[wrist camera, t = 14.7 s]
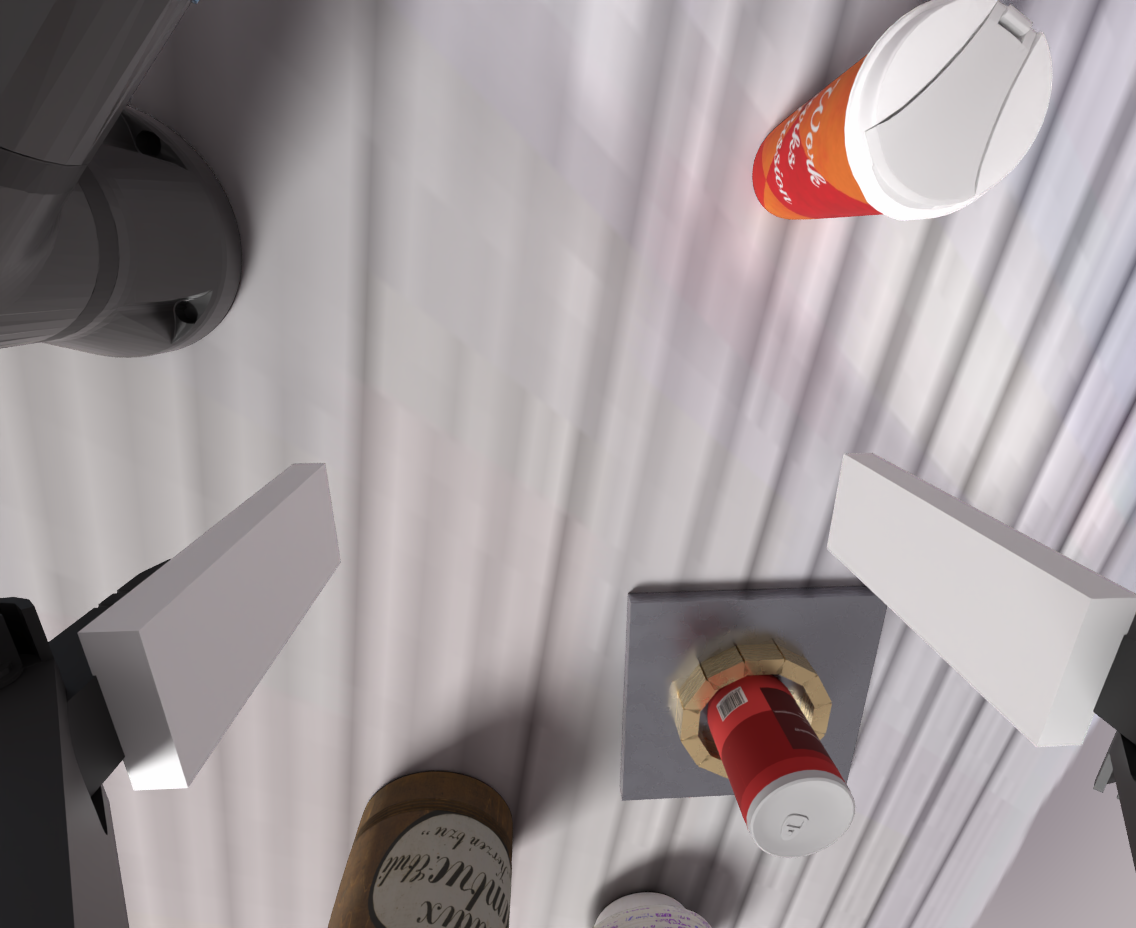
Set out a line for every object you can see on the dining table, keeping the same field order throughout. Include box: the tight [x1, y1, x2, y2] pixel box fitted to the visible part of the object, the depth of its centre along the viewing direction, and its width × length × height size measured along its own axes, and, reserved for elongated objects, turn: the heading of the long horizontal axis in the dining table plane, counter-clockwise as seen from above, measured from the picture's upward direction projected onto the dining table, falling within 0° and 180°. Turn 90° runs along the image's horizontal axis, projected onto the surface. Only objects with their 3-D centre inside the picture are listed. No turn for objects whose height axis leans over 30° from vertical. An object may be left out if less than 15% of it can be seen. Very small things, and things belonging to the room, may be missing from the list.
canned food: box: [707, 674, 855, 858], centre depth 44 cm, size 8×8×11 cm
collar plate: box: [620, 586, 887, 801], centre depth 49 cm, size 22×22×4 cm
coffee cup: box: [752, 0, 1052, 221], centre depth 29 cm, size 8×8×15 cm
